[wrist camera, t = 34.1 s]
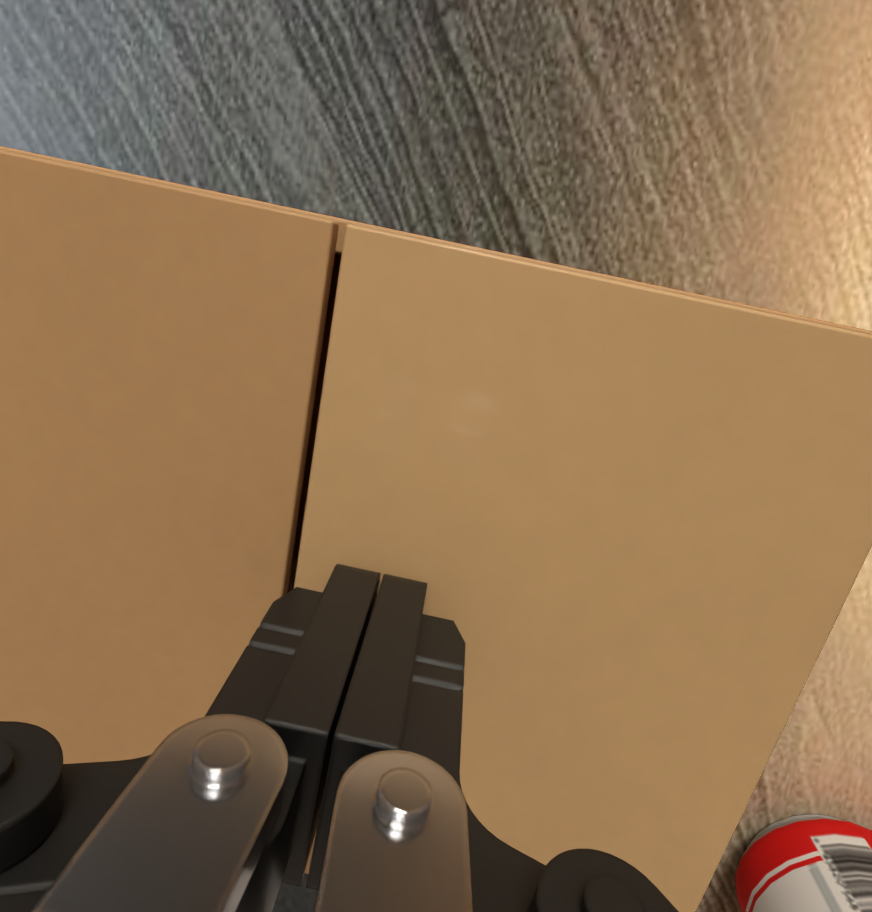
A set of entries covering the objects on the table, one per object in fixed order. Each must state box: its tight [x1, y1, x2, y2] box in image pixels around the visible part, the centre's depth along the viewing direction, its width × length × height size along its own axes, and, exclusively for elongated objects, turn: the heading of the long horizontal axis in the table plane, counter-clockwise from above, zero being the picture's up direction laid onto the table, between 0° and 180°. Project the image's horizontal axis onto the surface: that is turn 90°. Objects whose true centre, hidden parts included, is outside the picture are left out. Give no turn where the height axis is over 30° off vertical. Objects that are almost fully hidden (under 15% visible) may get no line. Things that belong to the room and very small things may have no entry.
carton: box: [0, 146, 872, 764], centre depth 15 cm, size 17×12×11 cm
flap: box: [294, 224, 872, 912], centre depth 10 cm, size 8×12×1 cm
